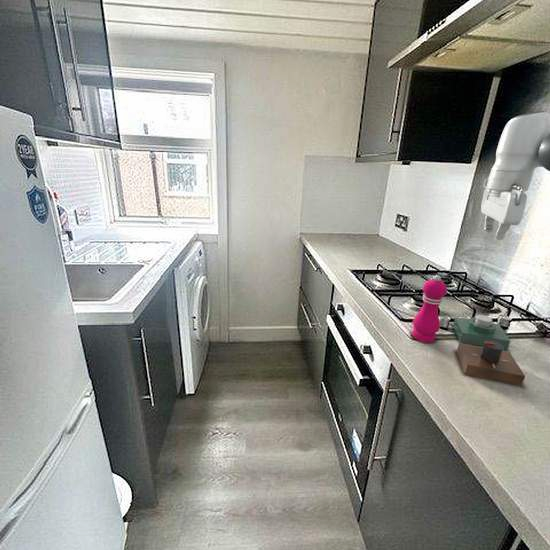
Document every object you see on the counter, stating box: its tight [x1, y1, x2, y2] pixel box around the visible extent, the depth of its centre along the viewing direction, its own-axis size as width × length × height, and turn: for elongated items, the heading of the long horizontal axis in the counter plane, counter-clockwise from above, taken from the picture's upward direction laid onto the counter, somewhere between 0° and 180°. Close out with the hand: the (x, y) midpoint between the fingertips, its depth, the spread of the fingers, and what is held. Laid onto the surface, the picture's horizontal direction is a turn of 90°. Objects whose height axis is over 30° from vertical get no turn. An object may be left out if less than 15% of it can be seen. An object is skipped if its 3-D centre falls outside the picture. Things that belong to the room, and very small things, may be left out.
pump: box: [475, 314, 493, 327], centre depth 90 cm, size 4×4×2 cm
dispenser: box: [452, 316, 511, 352], centre depth 91 cm, size 12×10×5 cm
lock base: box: [456, 342, 526, 387], centre depth 78 cm, size 12×10×3 cm
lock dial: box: [481, 340, 504, 363], centre depth 76 cm, size 4×4×4 cm
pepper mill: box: [411, 274, 448, 343], centre depth 87 cm, size 7×7×20 cm
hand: (492, 235), depth 83 cm, fingers open, 8 cm apart
